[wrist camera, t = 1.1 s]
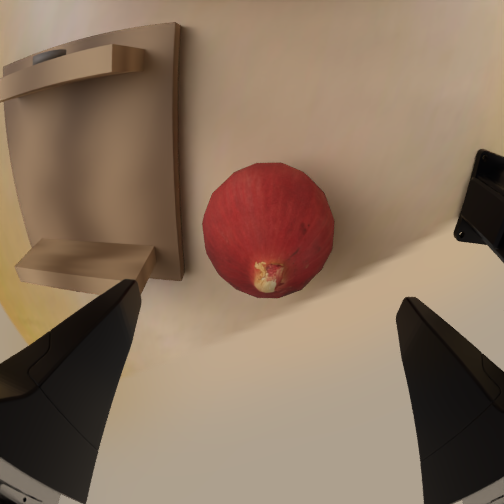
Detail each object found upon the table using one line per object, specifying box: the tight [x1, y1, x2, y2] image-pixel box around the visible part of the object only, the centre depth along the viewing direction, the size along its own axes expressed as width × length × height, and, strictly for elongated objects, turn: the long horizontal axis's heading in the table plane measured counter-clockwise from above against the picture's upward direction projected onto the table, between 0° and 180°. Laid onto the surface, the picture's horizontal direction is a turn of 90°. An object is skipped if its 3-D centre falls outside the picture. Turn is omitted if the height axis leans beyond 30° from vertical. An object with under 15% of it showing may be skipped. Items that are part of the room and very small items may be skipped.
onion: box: [202, 163, 334, 298], centre depth 13 cm, size 6×6×8 cm
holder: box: [0, 22, 185, 295], centre depth 14 cm, size 12×15×4 cm
